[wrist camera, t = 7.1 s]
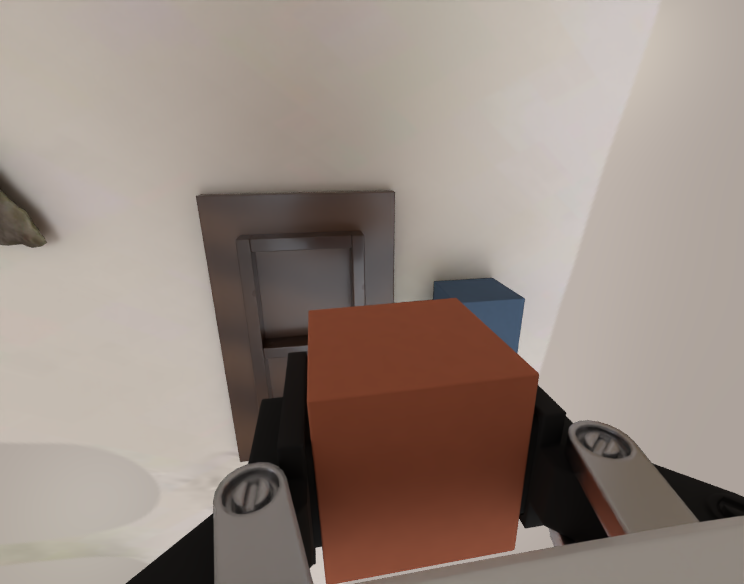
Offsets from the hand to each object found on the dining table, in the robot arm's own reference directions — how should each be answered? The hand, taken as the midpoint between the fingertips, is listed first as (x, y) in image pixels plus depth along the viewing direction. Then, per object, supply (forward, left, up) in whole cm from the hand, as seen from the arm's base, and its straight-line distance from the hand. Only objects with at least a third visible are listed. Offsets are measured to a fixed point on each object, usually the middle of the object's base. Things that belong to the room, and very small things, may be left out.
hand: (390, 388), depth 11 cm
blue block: (+4, +9, -15) cm, 18 cm away
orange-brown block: (0, 0, -1) cm, 1 cm away
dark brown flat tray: (+5, -3, -15) cm, 16 cm away
